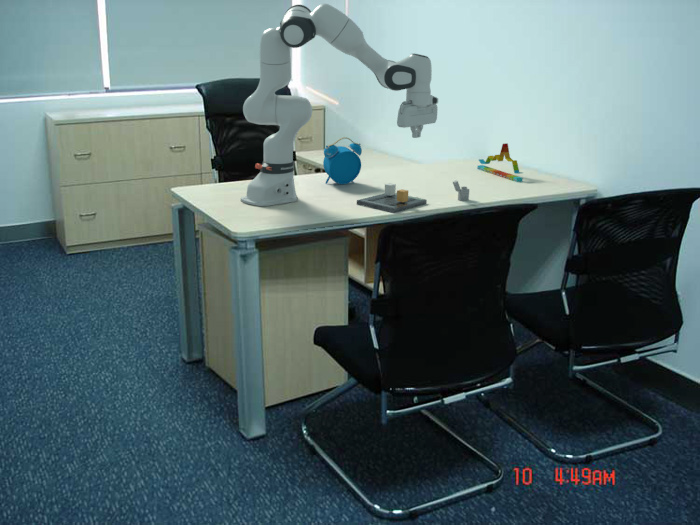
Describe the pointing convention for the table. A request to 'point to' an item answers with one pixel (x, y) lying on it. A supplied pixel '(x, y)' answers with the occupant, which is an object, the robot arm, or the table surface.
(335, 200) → the table surface
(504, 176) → the chart
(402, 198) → the orange wooden block
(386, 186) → the white small block
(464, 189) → the lighter
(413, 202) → the dark grey tray
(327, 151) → the alarm clock
